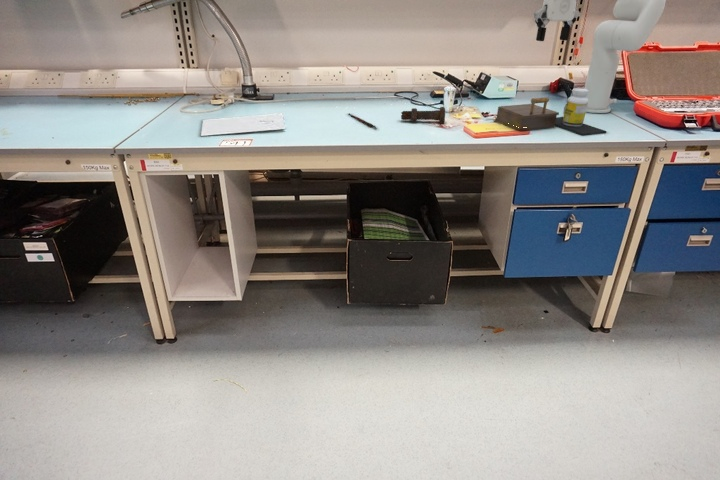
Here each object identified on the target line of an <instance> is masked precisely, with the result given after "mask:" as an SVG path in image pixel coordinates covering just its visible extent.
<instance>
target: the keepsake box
mask: <svg viewBox="0 0 720 480" xmlns="http://www.w3.org/2000/svg"><path fill="white" fill-rule="evenodd" d="M557 116H558V115H553V116H543V117H533V118H521V117H519V116H516V115H513V114H511V113H508V112H505V111H503V110H500V109H498V108H497V112H496V117H495V122H496V123H498V124H500V125H503V126H506V127H508V128H511V129H513V130H516V131H518V132H525V131H533V130H534V131H535V130H543V129H544V130H545V129H553V128H555V127H556V126H555V121H556V117H557ZM508 123H509V124H508ZM513 125H514V126H513ZM516 126H517V127H516ZM518 127H519V128H518ZM523 127H527V128H523Z"/></svg>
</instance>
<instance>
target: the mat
mask: <svg viewBox="0 0 720 480" xmlns="http://www.w3.org/2000/svg"><path fill="white" fill-rule="evenodd" d="M563 118H564V116H559V117H556V121H555V126H554V127H557V128H560V129H562V130H566V131H568V132H571V133H574V134H576V135H580V136H582V137H584V136H591V135H600V134H607V130H605V129H601V128H599V127H595V126H592V125H589V124H586V123H583V124H582V126H579V127H572V126H567V125H564V124H563Z"/></svg>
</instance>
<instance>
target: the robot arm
mask: <svg viewBox="0 0 720 480" xmlns="http://www.w3.org/2000/svg"><path fill="white" fill-rule="evenodd" d="M577 1H578V0H543V1H542V7H540V8H539V9H537V10H536V11H534V12H533V16H534V22H535V24H536V27H537V31H536V37H535V40H536V41H538V42H544V41H545V38H546V32H547V25H548V24H549V22H562V25H563V26H562V27H561V30H560V35H559V40H560V41H569V37H570V31H571V28H573V26H574V24H575V23H576V22H577V19H578V18H579V16H580V11H579V9H577V3H578V2H577ZM666 3H667V1H666V0H616V2H615V4H614V6H613V10H612V15H613V17H614V18H615V19H609V20H604V21H602V22H600V23H599V24H598V25H597V26H596V28H595V30H594V33H593V43H592V51H591V52H592V53H591V58H590V63H589V66H588V71H587V75H586V79H585V83H584V87H583V89H587V90H588V94H587V95H586V98H588V106H587V110H586V113H590V114H592V113H593V114H607V113H610V112H611V110H612V108H611V107H610V105H616V104H617V103H618V99H617V98H611V94H612V90H613V86H614V83H615V78H616V76H617V72H618V67H619V63H620V57H619V54H618V51H622V52H623V51H624V52H636V51H639V50H640V49H641V48H642V47H643V46H644V45H645V43H646V42H647V41H648V39H649V37H650V35H651V33H653V31H654V29H655V27H656V25H657V23H658V22H659V20H660V18H661V16H662V15H663V12H664V10H665V7H666Z"/></svg>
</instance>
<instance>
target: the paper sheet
mask: <svg viewBox="0 0 720 480" xmlns="http://www.w3.org/2000/svg"><path fill="white" fill-rule="evenodd" d="M285 129H286V126H285V120H284V115H283V113H282V112H278V113H268V114H254V115H245V116H244V115H243V116H233V117H221V118H220V117H219V118H209V119H202V124H201V131H200V136H201V137H203V136H217V135H228V134H239V133H240V134H241V133H252V132H253V133H254V132H264V131H275V130H276V131H277V130H285Z"/></svg>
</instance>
